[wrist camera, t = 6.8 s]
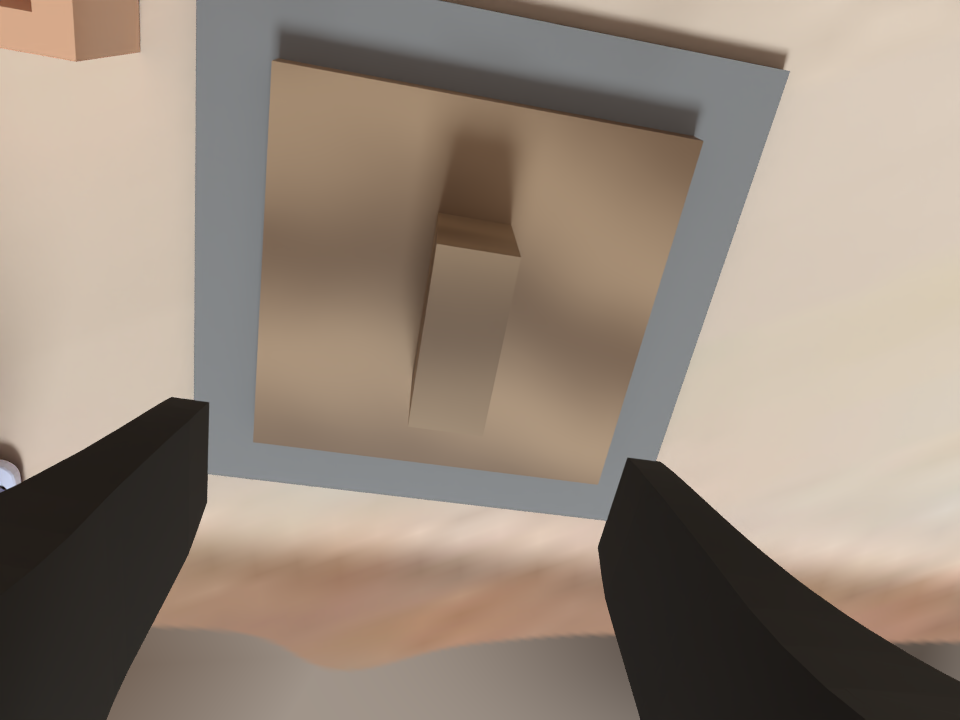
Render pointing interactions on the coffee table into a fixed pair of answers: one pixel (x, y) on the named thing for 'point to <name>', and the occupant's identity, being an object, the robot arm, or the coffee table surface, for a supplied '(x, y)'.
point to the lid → (455, 273)
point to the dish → (70, 27)
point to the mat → (483, 72)
